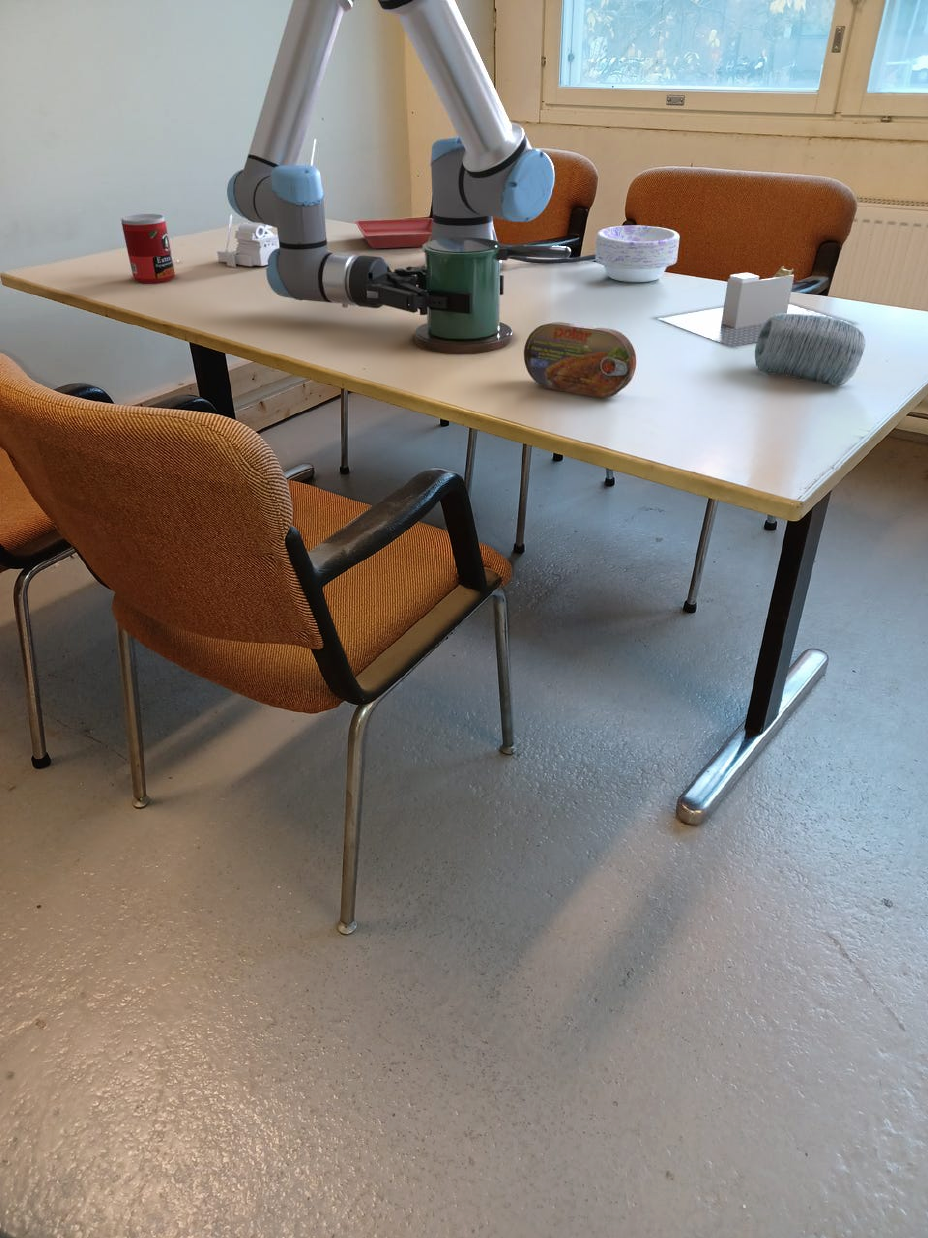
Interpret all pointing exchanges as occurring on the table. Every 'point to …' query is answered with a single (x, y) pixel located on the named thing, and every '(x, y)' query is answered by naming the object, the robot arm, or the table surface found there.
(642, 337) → the table surface
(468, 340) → the turntable
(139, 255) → the canned food
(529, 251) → the pot
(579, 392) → the tin
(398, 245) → the plant saucer
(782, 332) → the spool
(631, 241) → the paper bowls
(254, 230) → the wifi router
